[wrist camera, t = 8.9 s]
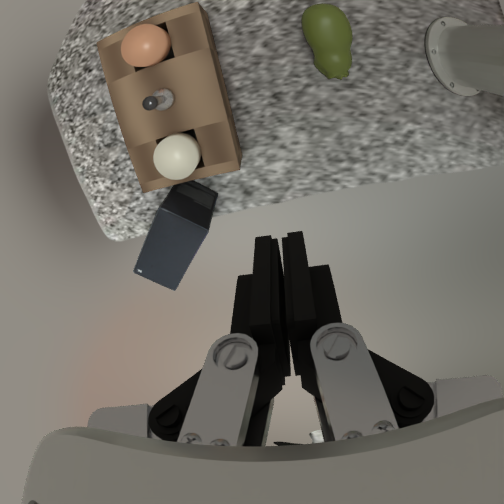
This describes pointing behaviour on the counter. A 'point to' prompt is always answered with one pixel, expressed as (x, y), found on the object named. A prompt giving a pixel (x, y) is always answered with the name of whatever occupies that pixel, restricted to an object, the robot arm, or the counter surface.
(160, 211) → the small box
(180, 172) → the knob cream
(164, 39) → the knob terracotta
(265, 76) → the counter surface
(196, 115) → the wooden condiment caddy
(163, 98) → the pot stem
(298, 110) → the counter surface
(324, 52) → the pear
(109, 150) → the counter surface
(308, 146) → the counter surface
